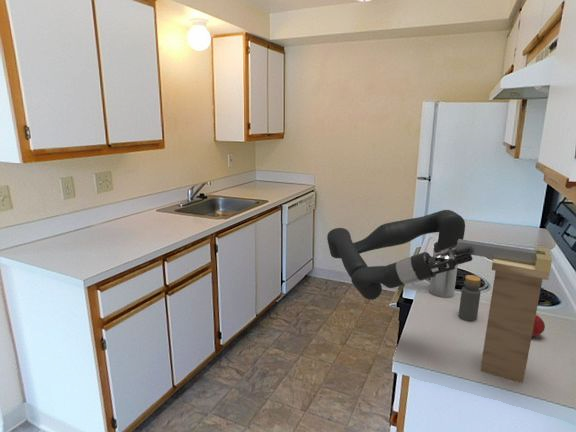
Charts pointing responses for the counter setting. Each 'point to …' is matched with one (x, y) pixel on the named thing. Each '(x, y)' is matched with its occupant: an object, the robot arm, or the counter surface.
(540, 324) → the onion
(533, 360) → the counter surface
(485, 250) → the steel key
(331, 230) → the robot arm
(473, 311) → the bottle
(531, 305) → the wooden stand
